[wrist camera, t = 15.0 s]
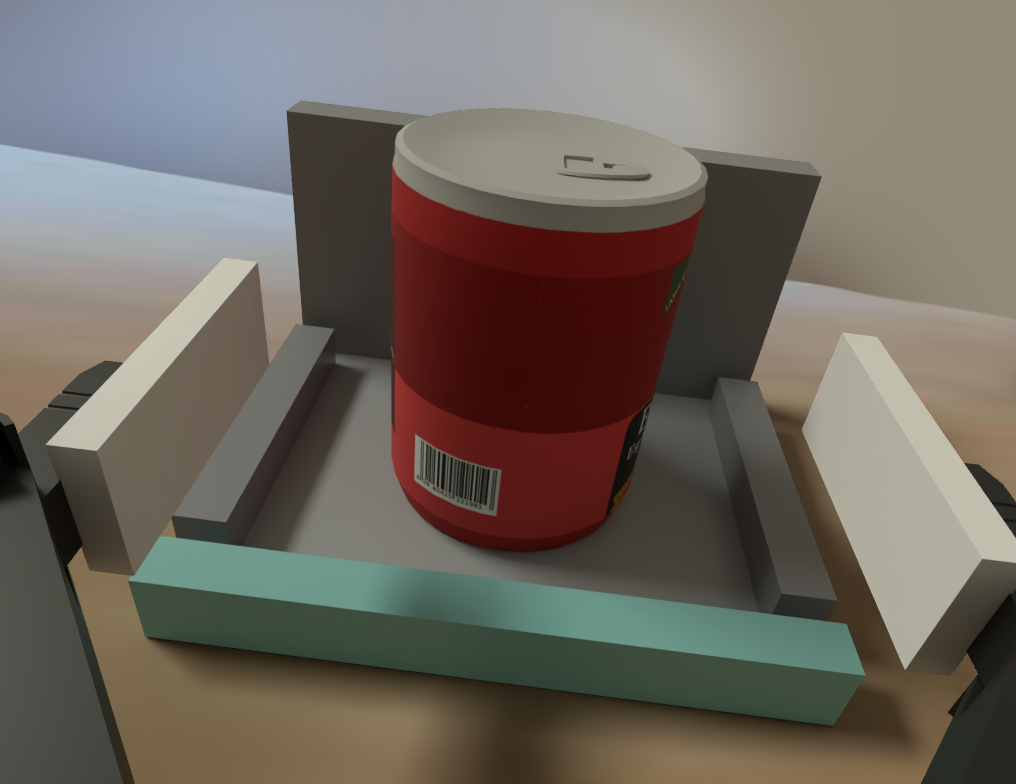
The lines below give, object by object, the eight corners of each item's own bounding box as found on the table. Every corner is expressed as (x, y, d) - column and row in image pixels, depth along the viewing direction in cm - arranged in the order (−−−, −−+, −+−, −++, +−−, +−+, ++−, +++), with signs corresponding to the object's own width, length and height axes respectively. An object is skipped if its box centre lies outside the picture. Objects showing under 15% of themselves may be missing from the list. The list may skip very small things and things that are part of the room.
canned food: (661, 546, 22) (769, 206, 16) (403, 574, 20) (411, 201, 14) (586, 401, 28) (643, 112, 22) (381, 412, 26) (379, 100, 20)
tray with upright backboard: (145, 636, 19) (39, 294, 13) (316, 342, 31) (300, 100, 25) (833, 726, 19) (1032, 418, 13) (731, 394, 31) (809, 162, 25)
